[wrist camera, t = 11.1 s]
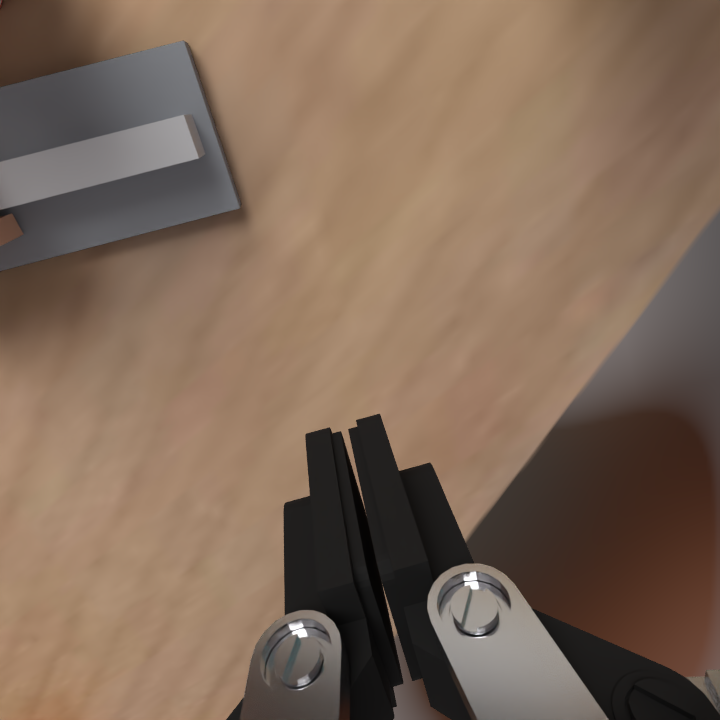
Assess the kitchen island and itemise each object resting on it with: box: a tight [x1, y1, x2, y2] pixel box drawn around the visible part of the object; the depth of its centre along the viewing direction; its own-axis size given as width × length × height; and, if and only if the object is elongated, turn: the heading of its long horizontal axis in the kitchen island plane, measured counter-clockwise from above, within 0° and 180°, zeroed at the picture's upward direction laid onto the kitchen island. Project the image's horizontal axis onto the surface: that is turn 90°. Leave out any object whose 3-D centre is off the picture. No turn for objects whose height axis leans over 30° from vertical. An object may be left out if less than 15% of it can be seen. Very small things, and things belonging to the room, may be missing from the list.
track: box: [0, 41, 241, 271], centre depth 30 cm, size 22×10×6 cm, turn 103°
